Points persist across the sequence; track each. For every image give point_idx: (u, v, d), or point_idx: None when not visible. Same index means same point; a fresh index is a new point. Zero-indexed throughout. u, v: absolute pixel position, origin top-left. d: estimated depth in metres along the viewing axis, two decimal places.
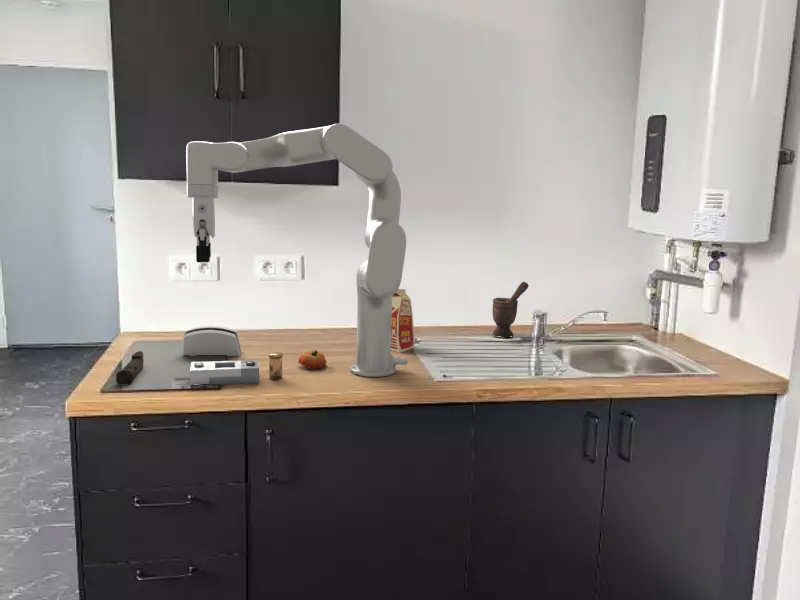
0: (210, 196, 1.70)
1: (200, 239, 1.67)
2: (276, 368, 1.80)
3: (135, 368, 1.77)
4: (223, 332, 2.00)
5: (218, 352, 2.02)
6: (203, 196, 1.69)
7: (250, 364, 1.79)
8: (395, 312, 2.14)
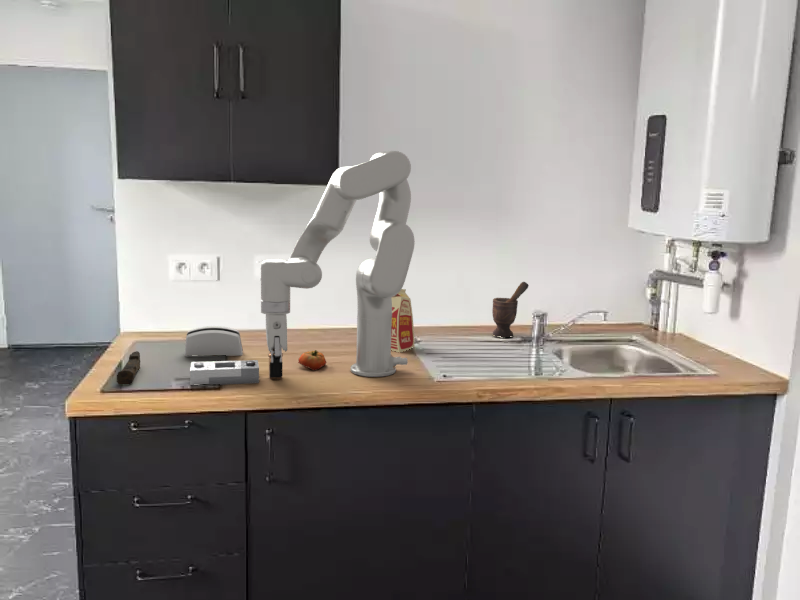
0: (284, 312, 1.76)
1: (275, 357, 1.76)
2: None
3: (135, 368, 1.77)
4: (226, 332, 2.00)
5: (221, 352, 2.02)
6: (277, 313, 1.75)
7: (250, 364, 1.79)
8: (395, 312, 2.14)
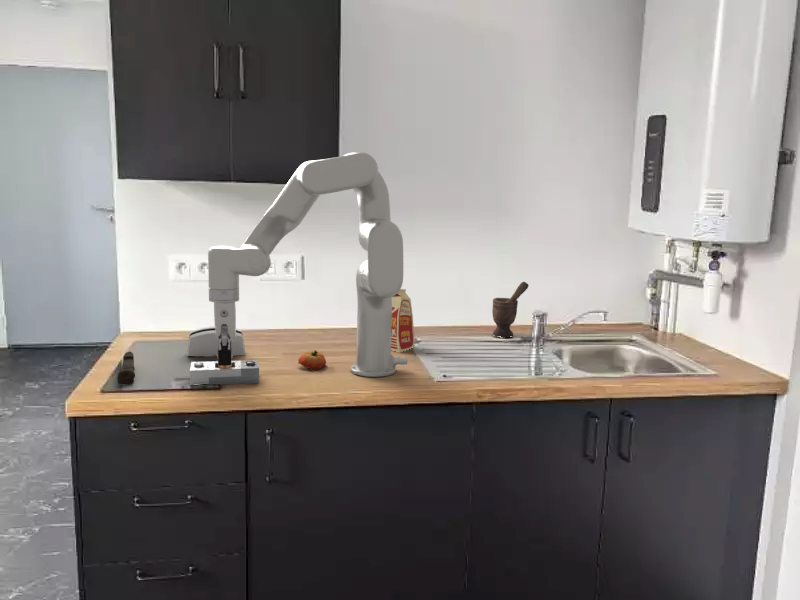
0: (232, 300, 1.73)
1: (222, 345, 1.70)
2: None
3: (133, 368, 1.77)
4: None
5: None
6: (225, 301, 1.72)
7: (250, 364, 1.79)
8: (395, 312, 2.14)
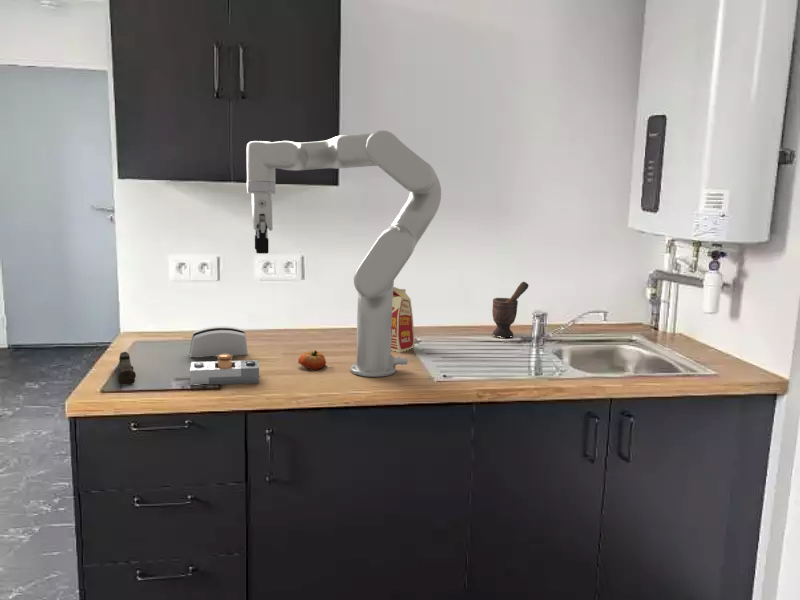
0: (269, 192, 1.83)
1: (261, 232, 1.80)
2: None
3: (132, 368, 1.77)
4: (233, 332, 2.01)
5: (227, 352, 2.03)
6: (263, 192, 1.82)
7: (250, 364, 1.79)
8: (395, 312, 2.14)
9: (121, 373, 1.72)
